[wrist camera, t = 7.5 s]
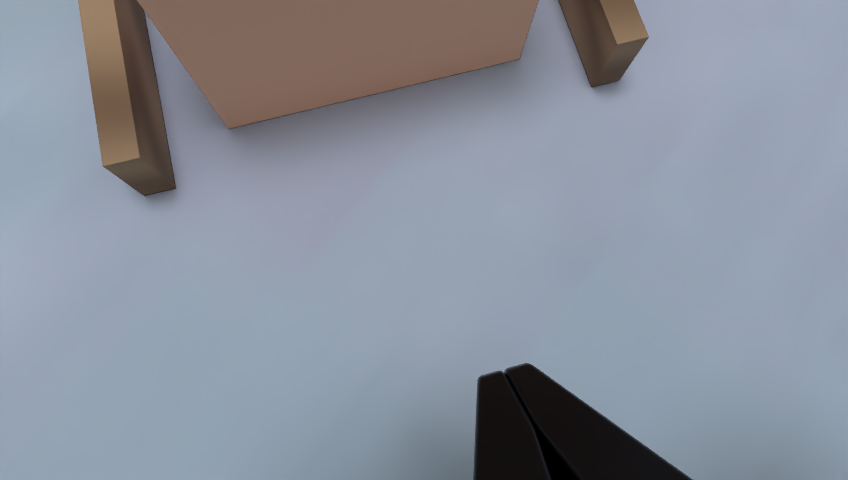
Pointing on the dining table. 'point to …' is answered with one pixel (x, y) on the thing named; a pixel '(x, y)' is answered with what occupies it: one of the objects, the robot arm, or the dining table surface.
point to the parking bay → (140, 104)
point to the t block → (331, 47)
